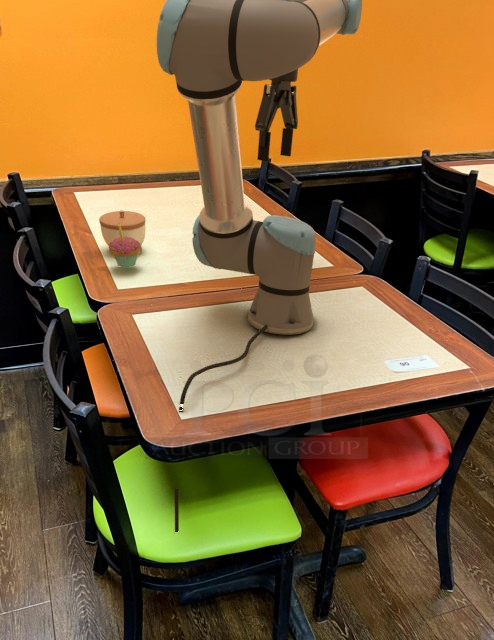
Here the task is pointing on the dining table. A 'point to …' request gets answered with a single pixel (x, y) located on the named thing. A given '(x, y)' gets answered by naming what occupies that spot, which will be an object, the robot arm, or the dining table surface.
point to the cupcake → (125, 250)
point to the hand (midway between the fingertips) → (274, 158)
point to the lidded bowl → (122, 225)
